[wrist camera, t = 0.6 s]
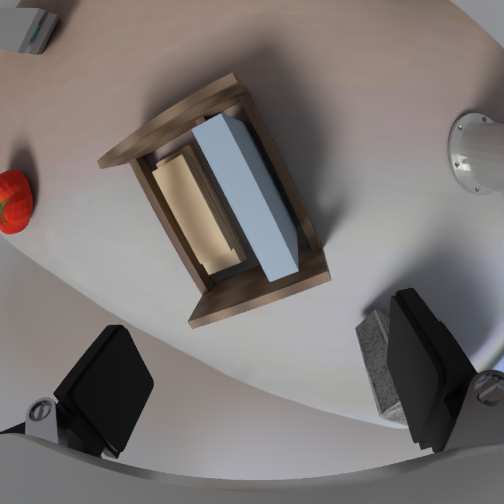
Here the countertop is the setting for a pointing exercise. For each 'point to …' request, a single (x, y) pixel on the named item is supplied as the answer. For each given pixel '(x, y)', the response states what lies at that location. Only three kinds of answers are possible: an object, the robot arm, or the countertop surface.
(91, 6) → the countertop surface
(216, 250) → the offcut stack
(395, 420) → the decorative stone tablet
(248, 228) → the painted sheet
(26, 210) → the tomato
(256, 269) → the walnut rack
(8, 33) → the sharpening stone
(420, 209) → the countertop surface
